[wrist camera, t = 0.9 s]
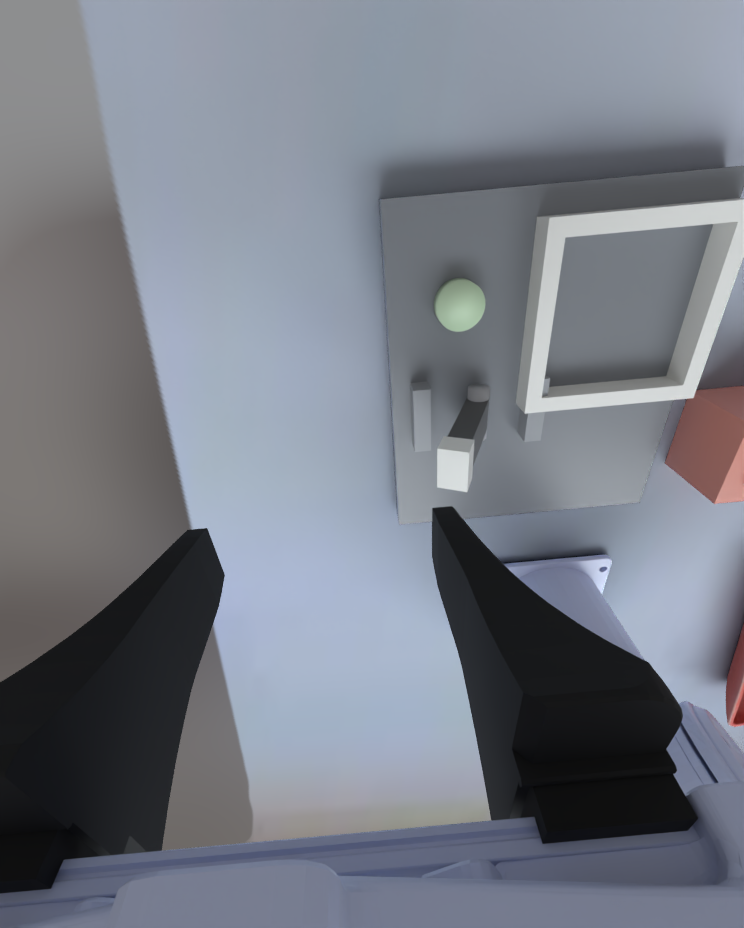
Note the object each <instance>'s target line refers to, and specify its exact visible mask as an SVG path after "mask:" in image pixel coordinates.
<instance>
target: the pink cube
mask: <svg viewBox="0 0 744 928" xmlns="http://www.w3.org/2000/svg"><path fill="white" fill-rule="evenodd" d="M665 464H666V465H668V466H669V467H670V468H671V469H673V470H674V471H675V472H676V473H677V474H679V475H680V476H681V477H682V478H684V479H685V480H686V481H687V482H688V483H690V484H691V485H692V486H693V487H694V488H696V489H697V490H698V491H699V492H701V493H702V494H703V495H704V496H705V497H707V498H708V499H709V500H710V501H712V502H713V503H714V504H717V503H728V502H739V501H744V386H735V387H725V388H714V389H704V390H696V392H695V395H694V398H689V399H687V400H686V403H685V406H684V409H683V412H682V415H681V417H680V420H679V423H678V426H677V429H676V432H675V435H674V438H673V441H672V444H671V447H670V449H669V452H668V455H667V458H666V461H665Z"/></svg>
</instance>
